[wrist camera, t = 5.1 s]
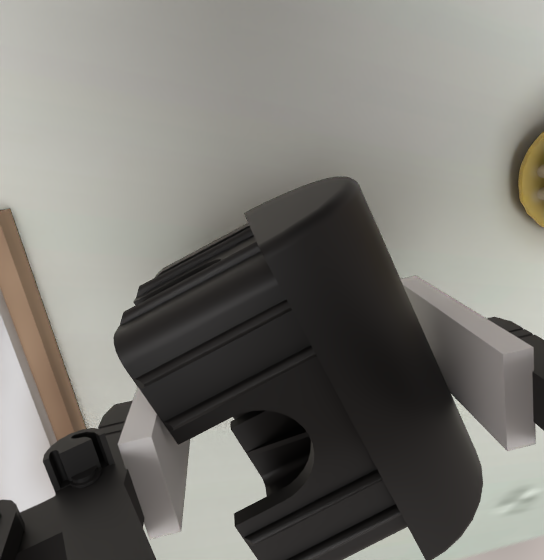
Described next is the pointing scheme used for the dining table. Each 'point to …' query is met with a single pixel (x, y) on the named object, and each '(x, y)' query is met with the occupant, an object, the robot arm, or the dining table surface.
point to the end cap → (309, 378)
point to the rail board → (28, 379)
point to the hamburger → (533, 181)
